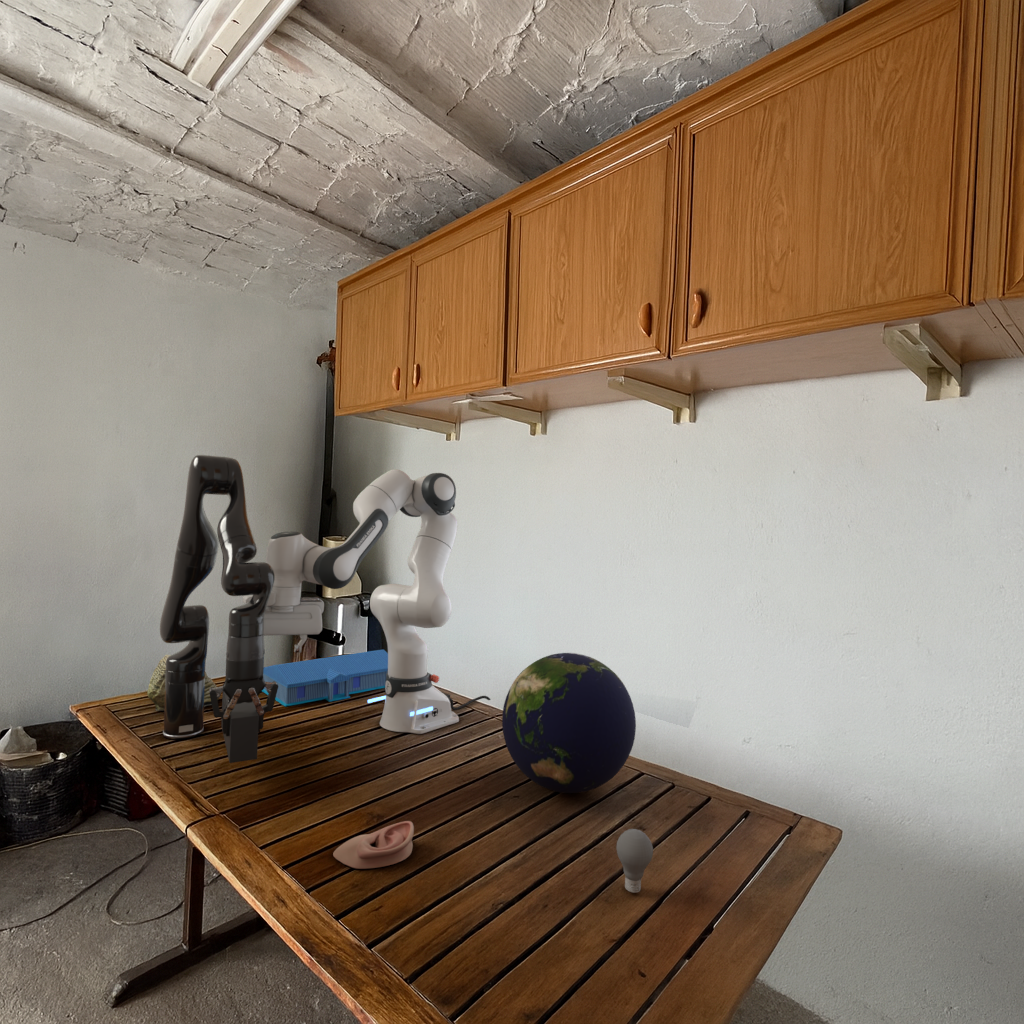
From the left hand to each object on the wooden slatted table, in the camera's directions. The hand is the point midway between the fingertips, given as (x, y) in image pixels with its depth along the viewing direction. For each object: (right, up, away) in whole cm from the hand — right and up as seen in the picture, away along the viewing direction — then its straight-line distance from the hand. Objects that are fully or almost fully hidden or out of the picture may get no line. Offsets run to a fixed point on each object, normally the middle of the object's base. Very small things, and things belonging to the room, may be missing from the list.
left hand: (242, 732), depth 136 cm
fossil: (-38, -9, +49) cm, 62 cm away
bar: (-4, -5, +7) cm, 10 cm away
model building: (-1, -10, +71) cm, 72 cm away
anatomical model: (+33, -14, -23) cm, 43 cm away
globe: (+70, -15, +7) cm, 72 cm away
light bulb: (+78, -16, -31) cm, 85 cm away
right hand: (0, +13, +20) cm, 24 cm away
